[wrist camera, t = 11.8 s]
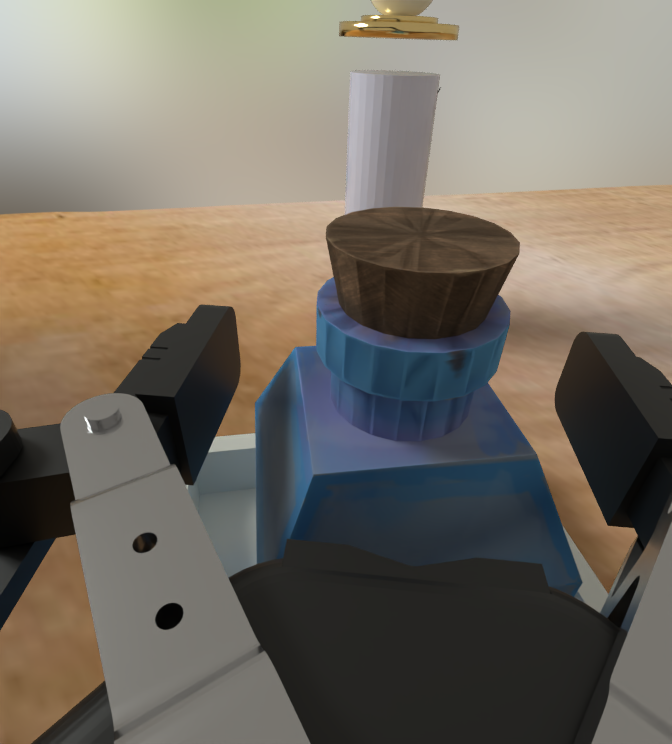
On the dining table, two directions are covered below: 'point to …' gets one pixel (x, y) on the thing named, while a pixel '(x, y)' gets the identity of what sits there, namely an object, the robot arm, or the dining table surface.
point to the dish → (238, 511)
